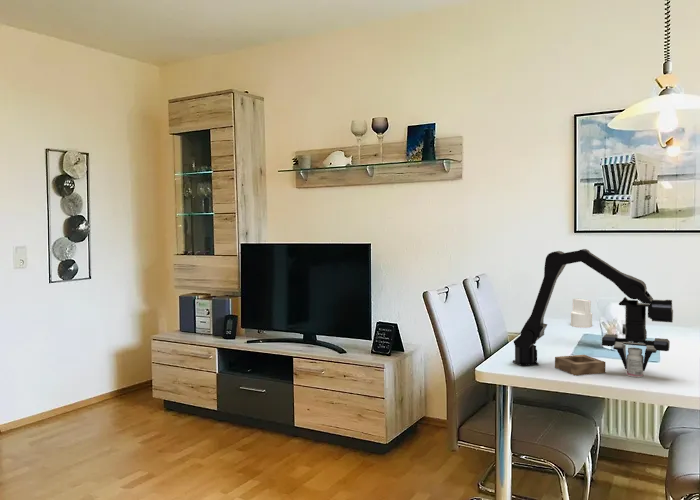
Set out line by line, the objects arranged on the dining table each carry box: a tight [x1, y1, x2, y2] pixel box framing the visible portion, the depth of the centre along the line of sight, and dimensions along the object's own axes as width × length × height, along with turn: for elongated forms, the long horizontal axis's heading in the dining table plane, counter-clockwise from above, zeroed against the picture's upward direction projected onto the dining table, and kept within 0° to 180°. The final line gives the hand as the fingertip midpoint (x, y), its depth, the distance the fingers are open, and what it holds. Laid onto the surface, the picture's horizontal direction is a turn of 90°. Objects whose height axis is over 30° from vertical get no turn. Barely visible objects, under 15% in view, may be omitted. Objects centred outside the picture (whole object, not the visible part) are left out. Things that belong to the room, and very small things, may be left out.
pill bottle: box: [626, 347, 644, 378], centre depth 189 cm, size 5×5×8 cm
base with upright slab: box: [570, 298, 593, 329], centre depth 275 cm, size 9×9×12 cm
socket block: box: [554, 354, 606, 376], centre depth 196 cm, size 11×11×4 cm
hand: (635, 369), depth 189 cm, fingers closed on pill bottle, 5 cm apart
